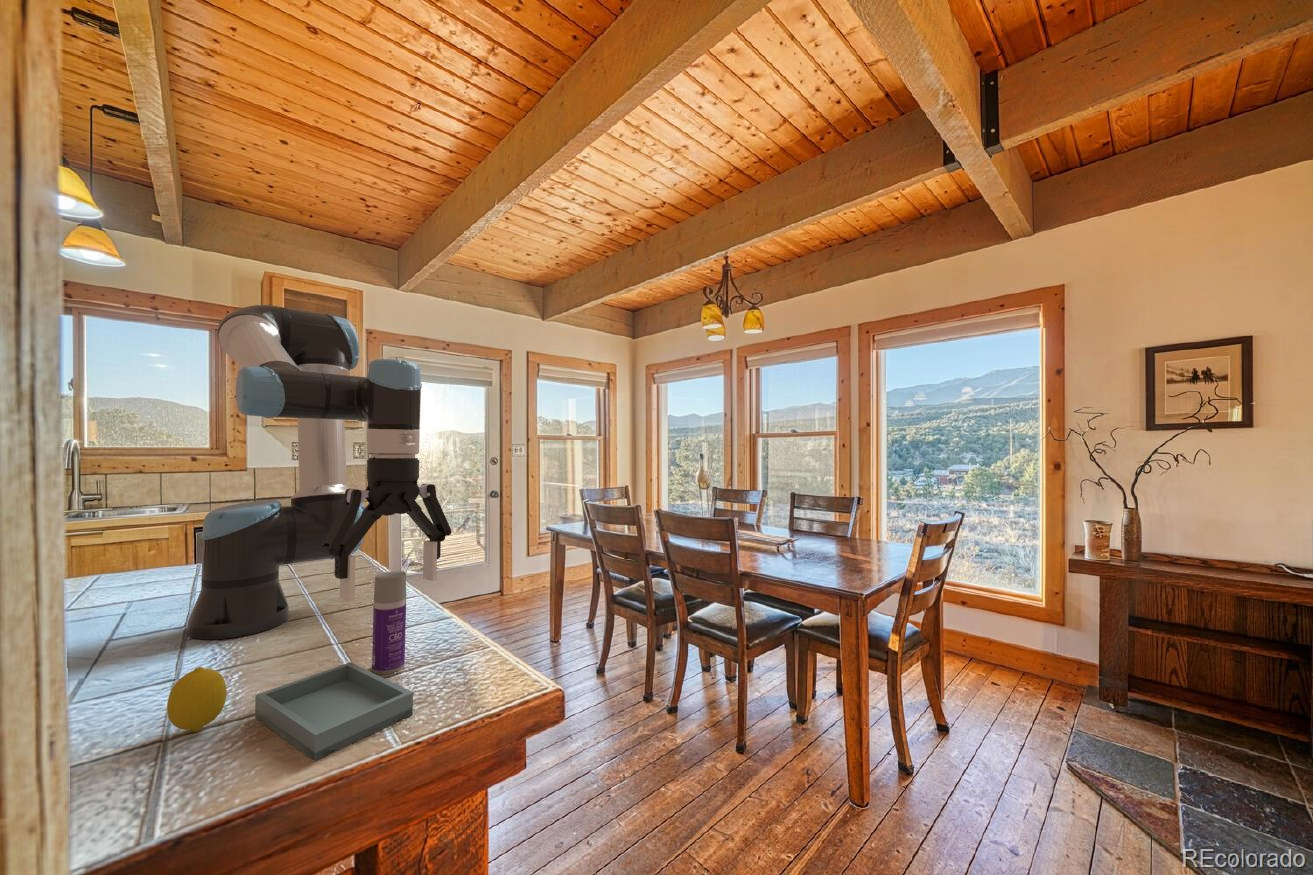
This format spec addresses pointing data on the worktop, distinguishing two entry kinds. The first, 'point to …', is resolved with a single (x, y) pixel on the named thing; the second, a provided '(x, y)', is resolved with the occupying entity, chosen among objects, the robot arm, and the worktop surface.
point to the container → (389, 622)
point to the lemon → (196, 699)
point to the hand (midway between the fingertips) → (391, 588)
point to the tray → (332, 709)
